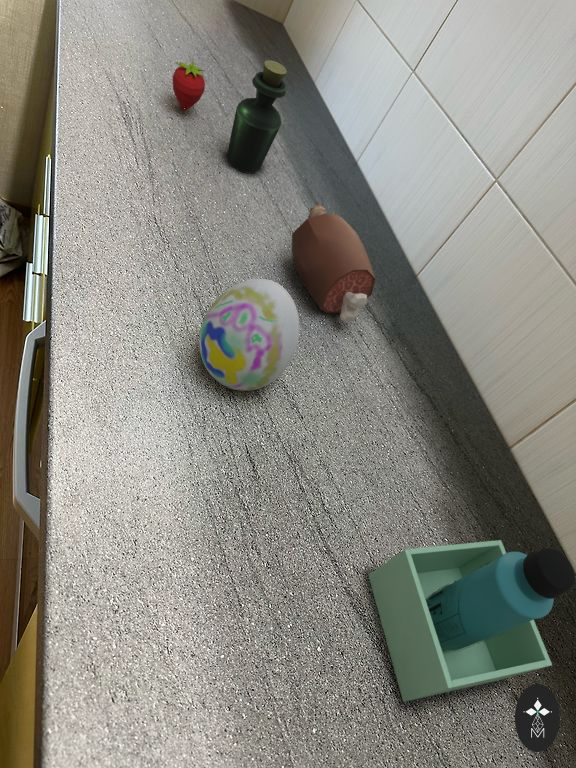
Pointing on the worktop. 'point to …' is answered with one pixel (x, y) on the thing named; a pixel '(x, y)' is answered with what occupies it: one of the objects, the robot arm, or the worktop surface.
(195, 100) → the strawberry
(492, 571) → the beverage bottle
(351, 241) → the meat
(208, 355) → the decorative egg
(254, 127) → the potion bottle
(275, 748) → the worktop surface
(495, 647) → the bin
